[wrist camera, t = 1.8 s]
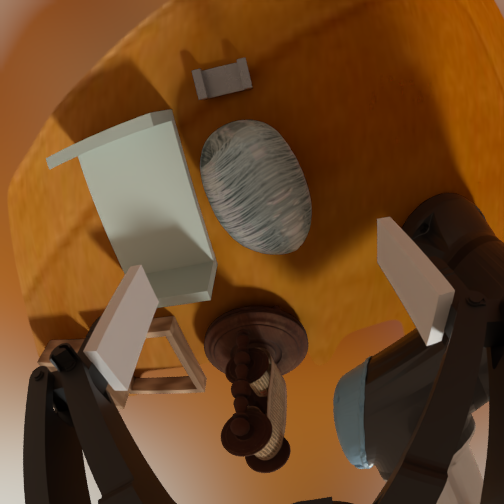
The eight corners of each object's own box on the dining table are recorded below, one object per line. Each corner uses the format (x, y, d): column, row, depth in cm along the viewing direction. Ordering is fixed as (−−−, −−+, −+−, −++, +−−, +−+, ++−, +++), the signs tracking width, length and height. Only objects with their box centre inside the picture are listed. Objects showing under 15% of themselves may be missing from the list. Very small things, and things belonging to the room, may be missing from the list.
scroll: (316, 354, 45) (336, 469, 27) (230, 375, 47) (224, 484, 30) (289, 285, 38) (311, 427, 20) (188, 315, 41) (159, 445, 23)
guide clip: (246, 61, 25) (245, 57, 22) (252, 88, 26) (252, 87, 24) (197, 73, 25) (191, 70, 23) (203, 99, 27) (198, 99, 24)
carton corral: (97, 338, 44) (85, 363, 38) (131, 384, 50) (124, 408, 45) (50, 340, 45) (37, 362, 40) (84, 382, 51) (75, 404, 46)
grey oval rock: (167, 142, 26) (206, 164, 19) (248, 100, 28) (313, 108, 21) (219, 243, 35) (265, 291, 28) (282, 201, 37) (339, 235, 30)
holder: (171, 109, 27) (149, 113, 21) (217, 264, 36) (210, 299, 30) (80, 144, 28) (45, 158, 22) (133, 279, 38) (114, 313, 31)
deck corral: (174, 315, 41) (169, 330, 38) (206, 378, 48) (204, 392, 45) (93, 324, 42) (86, 337, 40) (133, 381, 49) (129, 393, 47)
